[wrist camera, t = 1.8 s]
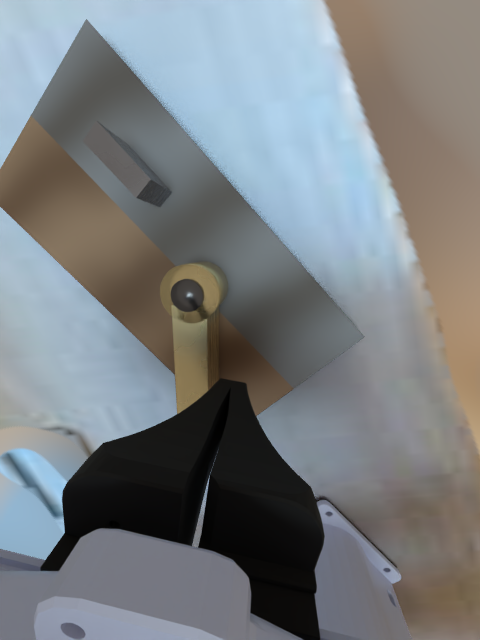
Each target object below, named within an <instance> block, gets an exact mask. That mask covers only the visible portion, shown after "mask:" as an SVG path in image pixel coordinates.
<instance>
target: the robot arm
mask: <svg viewBox="0 0 480 640" xmlns="http://www.w3.org/2000/svg"><path fill="white" fill-rule="evenodd" d="M217 452H218V453H217ZM216 455H217V456H216ZM215 458H216V459H215ZM214 461H215V462H214ZM213 463H214V465H213ZM212 466H213V468H212ZM211 469H212V471H211ZM210 472H211V473H210ZM209 475H210V479H209V486H208V493H207V500H206V506H205V513H204V520H203V527H202V533H201V538H200V542H199V546H198V548H197V547H193V546H192V543H193V539H194V534H195V530H196V526H197V522H198V518H199V514H200V509H201V505H202V501H203V497H204V493H205V489H206V485H207V482H208V478H209ZM62 503H63V515H64V526H65V534H64V535H63V536H62V538H61V539H60V541H59V542H58V543H57V545H56V546H55V548H54V549H53V551H52V552H51V553H50V555H49V556H48V557H47V559H46V560H42V559H38V558H34V557H31V556H27V555H23V554H19V553H15V552H11V551H7V550H2V549H0V640H412V638H411V635H410V632H409V629H408V627H407V624H406V621H405V619H404V616H403V613H402V610H401V608H400V605H399V602H398V600H397V597H396V594H395V592H394V589H393V586H392V584H393V583H395V582H398V581H399V580H400V579H401V574H400V572H399V570H398V569H397V568H396V567H395V566H394V565H393V564H392V563H391V562H390V561H389V560H388V559H387V558H386V557H385V556H384V555H383V554H382V553H381V552H380V551H378V550H377V549H376V548H375V547H374V546H373V545H372V544H371V543H370V542H369V541H368V540H367V539H366V538H365V537H364V536H363V535H362V534H361V533H360V532H359V531H358V530H357V529H356V528H355V527H354V526H353V525H352V524H351V523H350V522H349V521H348V520H347V519H346V518H345V517H344V516H343V515H342V514H341V513H340V512H339V511H338V510H337V509H336V508H335V507H334V506H333V505H332V504H331V503H329V502H328V501H327V500H320V501H318V502H316V500H315V497H314V494H313V491H312V489H311V487H310V486H309V485H308V484H307V483H306V482H305V481H304V480H303V479H302V478H301V477H300V476H298V475H297V474H296V473H295V472H294V471H293V470H292V469H291V468H290V466H289V465H288V464H287V463H286V462H285V461H284V460H283V459H282V457H281V456H280V455H279V453H278V452H277V451H276V450H275V448H274V447H273V446H272V444H271V443H270V441H269V439H268V438H267V436H266V435H265V433H264V431H263V429H262V428H261V426H260V424H259V422H258V419H257V417H256V415H255V413H254V410H253V407H252V405H251V402H250V399H249V395H248V390H247V384H246V383H244V382H239V381H233V380H228V379H223V378H221V379H219V380H218V381H217V382H216V383H215V384H214V385H213V386H212V387H211V388H210V389H209V390H208V391H207V392H206V393H205V394H204V395H203V396H201V397H200V398H199V399H198V400H197V401H195V402H194V403H193V404H191V405H190V406H189V407H187V408H186V409H184V410H183V411H181V412H180V413H178V414H177V415H175V416H173V417H172V418H170V419H168V420H166V421H164V422H162V423H160V424H158V425H156V426H153V427H151V428H149V429H146V430H144V431H141V432H138V433H135V434H133V435H130V436H126V437H123V438H119V439H116V440H112V441H109V442H105V443H103V444H102V445H101V446H100V447H99V448H98V449H97V450H96V451H95V452H94V453H93V454H92V455H91V456H90V457H89V458H88V459H87V460H86V461H85V462H84V464H83V465H82V466H81V467H80V468H79V470H78V471H77V472H76V473H75V474H74V475H73V477H72V478H71V479H70V480H69V481H68V482H67V484H66V486H65V488H64V490H63V497H62Z"/></svg>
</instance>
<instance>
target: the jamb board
mask: <svg viewBox="0 0 480 640" xmlns="http://www.w3.org/2000/svg"><path fill="white" fill-rule="evenodd" d="M95 121H98V122H99V123H100V124H102V125H103V126H104V127H106V128H107V129H108V130H110V131H111V132H112V133H114V134H115V135H116V136H118V137H119V138H120V139H122V140H123V141H124V142H126V143H127V144H128V145H129V146H130V147H131V148H132V149H133V150H134V151H135V152H136V153H137V154H138V156H139V157H140V158H141V159H142V160H143V161H144V162H145V163H146V164H147V165H148V166H149V168H150V169H151V170H152V171H153V172H154V173H155V174H156V175H157V176H158V177H159V178H160V179H161V181H162V182H163V183H164V184H165V185H166V186H167V187H168V188H169V189H170V190H171V191H172V193H171V195H170V196H169V197H168V198H167V199H166V201H165V202H164V203H163V204H162V205H161V207H158V206H155V205H153V204H150V203H148V202H145V201H143V200H140V199H138V198H136V197H135V196H134V195H133V194H132V193H131V192H130V191H129V190H128V189H127V188H126V187H125V186H124V185H123V183H122V182H121V181H120V180H119V179H118V178H117V177H116V176H115V175H114V174H113V173H112V172H111V171H110V170H109V169H108V168H107V167H106V165H105V164H104V163H103V162H102V161H101V160H100V159H99V158H98V157H97V156H96V155H95V154H94V153H93V152H92V151H91V150H90V149H89V147H88V146H87V145H86V144H85V143H84V142H83V140H84V138H85V137H86V135H87V134H88V132H89V131H90V129H91V127H92V126H93V124H94V123H95ZM0 207H1V208H2V209H3V210H4V211H5V212H6V213H7V214H9V215H10V216H11V217H12V218H13V219H14V220H15V221H16V222H17V223H18V224H19V225H20V226H21V227H22V228H23V229H24V230H25V231H26V232H27V233H28V234H29V235H30V236H31V237H32V238H33V239H34V240H36V241H37V242H38V243H39V244H40V245H41V246H42V247H43V248H44V249H45V250H46V251H47V252H48V253H49V254H50V255H51V256H52V257H53V258H54V259H55V260H56V261H57V262H58V263H59V264H60V265H61V266H63V267H64V268H65V269H66V270H67V271H68V272H69V273H70V274H71V275H72V276H73V277H74V278H75V279H76V280H77V281H78V282H79V283H80V284H81V285H82V286H83V287H84V288H85V289H86V290H87V291H88V292H90V293H91V294H92V295H93V296H94V297H95V298H96V299H97V300H98V301H99V302H100V303H101V304H102V305H103V306H104V307H105V308H106V309H107V310H108V311H109V312H110V313H111V314H112V315H113V316H114V317H115V318H117V319H118V320H119V321H120V322H121V323H122V324H123V325H124V326H125V327H126V328H127V329H128V330H129V331H130V332H131V333H132V334H133V335H134V336H135V337H136V338H137V339H138V340H139V341H140V342H141V343H142V344H144V345H145V346H146V347H147V348H148V349H149V350H150V351H151V352H152V353H153V354H154V355H155V356H156V357H157V358H158V359H159V360H160V361H161V362H162V363H163V364H164V365H165V366H166V367H167V368H168V369H169V370H171V371H172V372H173V373H174V374H175V362H174V342H173V323H172V316H171V315H170V314H169V313H168V312H167V311H166V309H165V308H164V306H163V304H162V301H161V297H160V286H161V282H162V280H163V278H164V276H165V275H166V273H167V272H168V271H169V270H171V269H172V268H174V267H176V266H179V265H183V264H189V263H195V262H202V261H205V262H211V263H213V264H215V265H217V266H218V267H220V268H221V269H222V271H223V272H224V273H225V275H226V277H227V280H228V293H227V296H226V298H225V300H224V301H223V302H222V303H221V304H220V305H219V379H221V378H223V379H228V380H233V381H239V382H244V383H246V384H247V390H248V395H249V399H250V402H251V405H252V407H253V410H254V413H255V415H256V416H257V415H258V414H260V413H261V412H262V411H264V410H265V409H267V408H268V407H269V406H271V405H272V404H273V403H275V402H276V401H278V400H279V399H280V398H282V397H283V396H284V395H286V394H287V393H289V392H290V391H291V390H293V389H294V388H295V387H297V386H298V385H300V384H301V383H302V382H304V381H305V380H306V379H308V378H309V377H311V376H312V375H313V374H315V373H316V372H317V371H319V370H320V369H322V368H323V367H324V366H326V365H327V364H328V363H330V362H331V361H333V360H334V359H335V358H337V357H338V356H339V355H341V354H342V353H344V352H345V351H346V350H348V349H349V348H350V347H352V346H353V345H355V344H356V343H357V342H359V341H360V340H361V339H363V338H364V336H363V334H362V333H361V332H360V331H359V330H358V329H357V328H356V326H355V325H354V324H353V323H352V322H351V321H350V320H349V318H348V317H347V316H346V315H345V314H344V313H343V312H342V310H341V309H340V308H339V307H338V306H337V305H336V304H335V302H334V301H333V300H332V299H331V298H330V297H329V296H328V294H327V293H326V292H325V291H324V290H323V289H322V288H321V286H320V285H319V284H318V283H317V282H316V281H315V280H314V278H313V277H312V276H311V275H310V274H309V273H308V272H307V270H306V269H305V268H304V267H303V266H302V265H301V264H300V262H299V261H298V260H297V259H296V258H295V257H294V256H293V254H292V253H291V252H290V251H289V250H288V249H287V248H286V246H285V245H284V244H283V243H282V242H281V241H280V240H279V238H278V237H277V236H276V235H275V234H274V233H273V232H272V230H271V229H270V228H269V227H268V226H267V225H266V224H265V222H264V221H263V220H262V219H261V218H260V217H259V216H258V214H257V213H256V212H255V211H254V210H253V209H252V208H251V206H250V205H249V204H248V203H247V202H246V201H245V200H244V198H243V197H242V196H241V195H240V194H239V193H238V192H237V190H236V189H235V188H234V187H233V186H232V185H231V184H230V182H229V181H228V180H227V179H226V178H225V177H224V176H223V174H222V173H221V172H220V171H219V170H218V169H217V168H216V166H215V165H214V164H213V163H212V162H211V161H210V160H209V158H208V157H207V156H206V155H205V154H204V153H203V152H202V150H201V149H200V148H199V147H198V146H197V145H196V144H195V142H194V141H193V140H192V139H191V138H190V137H189V136H188V134H187V133H186V132H185V131H184V130H183V129H182V128H181V126H180V125H179V124H178V123H177V122H176V121H175V120H174V118H173V117H172V116H171V115H170V114H169V113H168V112H167V110H166V109H165V108H164V107H163V106H162V105H161V104H160V102H159V101H158V100H157V99H156V98H155V97H154V96H153V94H152V93H151V92H150V91H149V90H148V89H147V88H146V86H145V85H144V84H143V83H142V82H141V81H140V80H139V79H138V77H137V76H136V75H135V74H134V73H133V72H132V71H131V69H130V68H129V67H128V66H127V65H126V64H125V63H124V61H123V60H122V59H121V58H120V57H119V56H118V55H117V53H116V52H115V51H114V50H113V49H112V48H111V47H110V45H109V44H108V43H107V42H106V41H105V40H104V39H103V37H102V36H101V35H100V34H99V33H98V32H97V31H96V29H95V28H94V27H93V26H92V25H91V24H90V23H89V21H88V20H87V19H86V21H85V22H84V24H83V26H82V28H81V29H80V31H79V33H78V34H77V36H76V38H75V40H74V41H73V43H72V45H71V47H70V48H69V50H68V52H67V54H66V55H65V57H64V59H63V61H62V62H61V64H60V66H59V68H58V69H57V71H56V73H55V75H54V76H53V78H52V80H51V82H50V83H49V85H48V87H47V89H46V90H45V92H44V94H43V96H42V97H41V99H40V101H39V102H38V104H37V106H36V108H35V109H34V111H33V113H32V115H31V116H30V118H29V120H28V122H27V123H26V125H25V127H24V129H23V130H22V132H21V134H20V136H19V137H18V139H17V141H16V143H15V144H14V146H13V148H12V150H11V151H10V153H9V155H8V157H7V158H6V160H5V162H4V164H3V165H2V167H1V169H0Z"/></svg>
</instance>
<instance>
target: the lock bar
mask: <svg viewBox="0 0 480 640" xmlns="http://www.w3.org/2000/svg"><path fill="white" fill-rule="evenodd" d="M227 293H228V280H227V277H226V275H225V273H224V272H223V271H222V269H221V268H220V267H218V266H217V265H215V264H213V263H211V262H205V261H202V262H195V263H189V264H183V265H179V266H176V267H174V268H172V269H171V270H169V271H168V272H167V273H166V275H165V276H164V278H163V280H162V282H161V286H160V297H161V301H162V304H163V306H164V308H165V309H166V311H167V312H168V313H169V314H170V315H171V316H172V323H173V342H174V362H175V381H176V400H177V414H178V413H180V412H181V411H183V410H184V409H186V408H187V407H189V406H190V405H191V404H193V403H194V402H195V401H197V400H198V399H199V398H200V397H201V396H203V395H204V394H205V393H206V392H207V391H208V390H209V389H210V388H211V387H212V386H213V385H214V384H215V383H216V382H217V381H218V380H219V305H220V304H221V303H222V302H223V301H224V300H225V298H226V296H227Z"/></svg>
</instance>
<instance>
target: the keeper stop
mask: <svg viewBox="0 0 480 640" xmlns="http://www.w3.org/2000/svg"><path fill="white" fill-rule="evenodd" d="M83 142H84V143H85V144H86V145H87V146H88V147H89V149H90V150H91V151H92V152H93V153H94V154H95V155H96V156H97V157H98V158H99V159H100V160H101V161H102V162H103V163H104V164H105V165H106V167H107V168H108V169H109V170H110V171H111V172H112V173H113V174H114V175H115V176H116V177H117V178H118V179H119V180H120V181H121V182H122V183H123V185H124V186H125V187H126V188H127V189H128V190H129V191H130V192H131V193H132V194H133V195H134V196H135V197H136V198H138V199H140V200H143V201H145V202H148V203H150V204H153V205H155V206H158V207H161V205H162V204H163V203H164V202H165V201H166V199H167V198H168V197H169V196H170V195H171V193H172V191H171V190H170V189H169V188H168V187H167V186H166V185H165V184H164V183H163V182H162V181H161V179H160V178H159V177H158V176H157V175H156V174H155V173H154V172H153V171H152V170H151V169H150V168H149V166H148V165H147V164H146V163H145V162H144V161H143V160H142V159H141V158H140V157H139V156H138V154H137V153H136V152H135V151H134V150H133V149H132V148H131V147H130V146H129V145H128V144H127V143H126V142H124V141H123V140H122V139H120V138H119V137H118V136H116V135H115V134H114V133H112V132H111V131H110V130H108V129H107V128H106V127H104V126H103V125H102V124H100V123H99V122H98V121H95V123H94V124H93V126H92V127H91V129H90V131H89V132H88V134H87V135H86V137H85V138H84V140H83Z"/></svg>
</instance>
